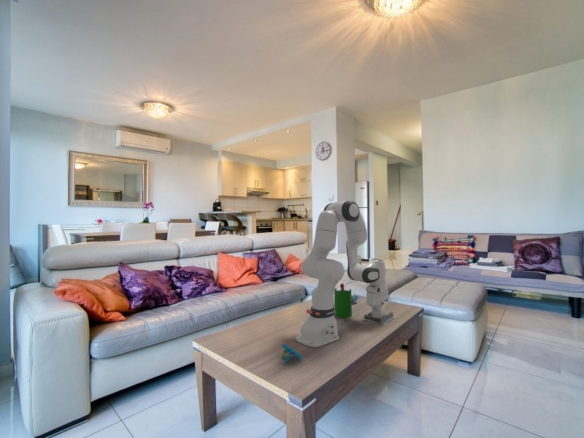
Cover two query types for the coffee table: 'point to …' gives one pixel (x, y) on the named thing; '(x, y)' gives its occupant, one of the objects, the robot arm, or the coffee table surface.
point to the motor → (343, 302)
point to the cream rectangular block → (379, 311)
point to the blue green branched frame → (289, 352)
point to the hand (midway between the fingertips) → (378, 310)
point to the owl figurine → (352, 297)
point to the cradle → (379, 321)
